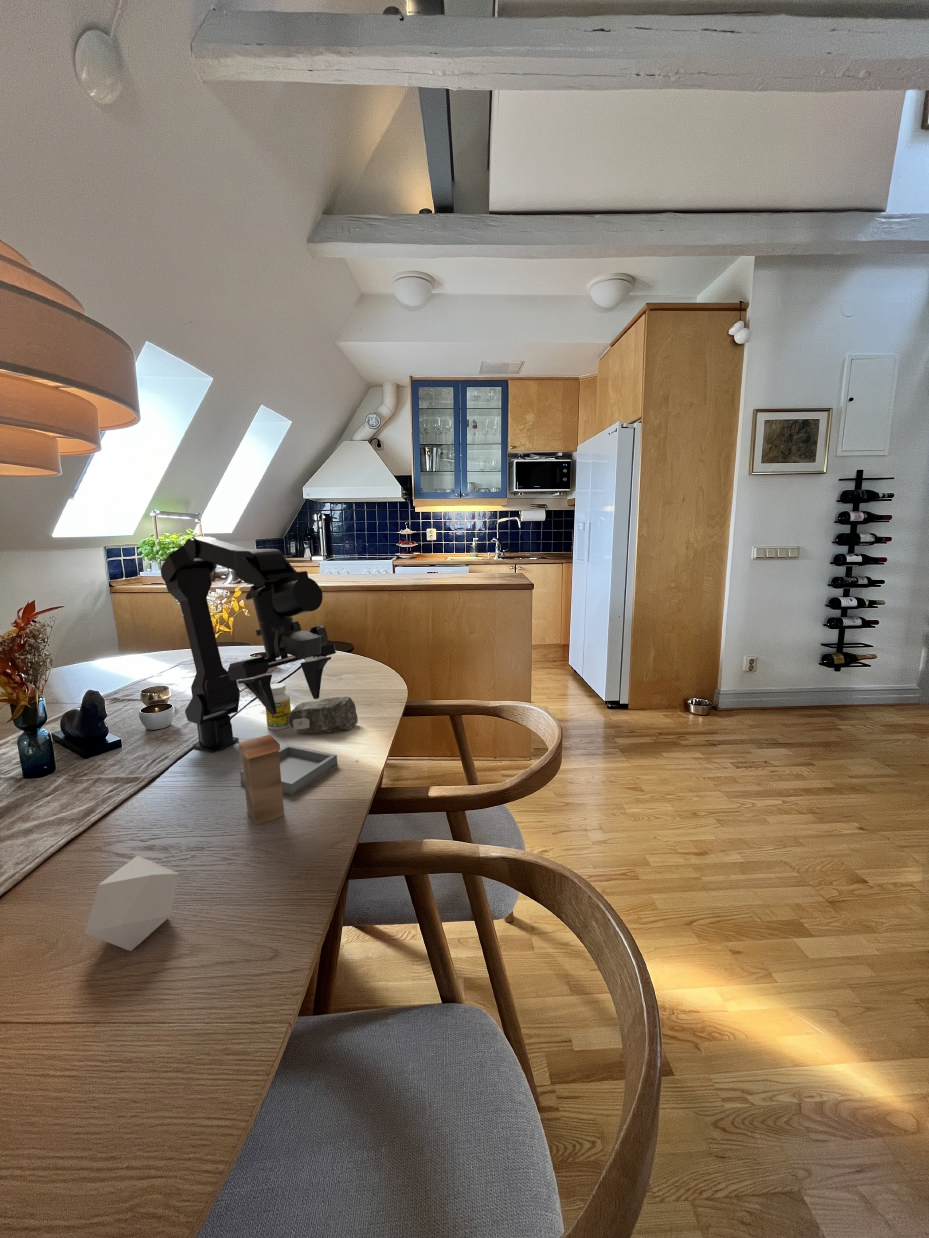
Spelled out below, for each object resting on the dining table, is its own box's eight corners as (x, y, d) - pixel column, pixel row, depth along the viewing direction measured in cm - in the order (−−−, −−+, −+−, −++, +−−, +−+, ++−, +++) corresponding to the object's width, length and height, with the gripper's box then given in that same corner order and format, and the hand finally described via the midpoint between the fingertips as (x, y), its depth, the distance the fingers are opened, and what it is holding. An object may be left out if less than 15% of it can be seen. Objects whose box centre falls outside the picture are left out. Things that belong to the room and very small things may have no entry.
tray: (240, 782, 93) (239, 770, 92) (288, 754, 103) (288, 744, 103) (292, 795, 88) (291, 783, 87) (337, 765, 98) (336, 754, 98)
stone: (304, 758, 111) (279, 717, 110) (308, 750, 118) (285, 711, 117) (363, 724, 113) (339, 683, 112) (364, 717, 120) (341, 679, 119)
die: (143, 902, 64) (77, 870, 59) (202, 867, 64) (141, 832, 59) (127, 972, 58) (50, 943, 52) (193, 933, 57) (123, 901, 52)
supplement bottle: (288, 719, 122) (285, 680, 120) (294, 726, 118) (291, 686, 116) (264, 724, 119) (261, 684, 117) (270, 732, 115) (266, 690, 113)
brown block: (245, 812, 83) (238, 742, 81) (276, 802, 86) (269, 734, 83) (254, 826, 79) (247, 752, 77) (286, 815, 82) (279, 744, 80)
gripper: (255, 622, 79) (278, 721, 79) (346, 605, 94) (365, 688, 95) (216, 632, 85) (238, 724, 86) (307, 614, 100) (325, 692, 101)
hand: (296, 706), depth 92 cm, fingers open, 9 cm apart
